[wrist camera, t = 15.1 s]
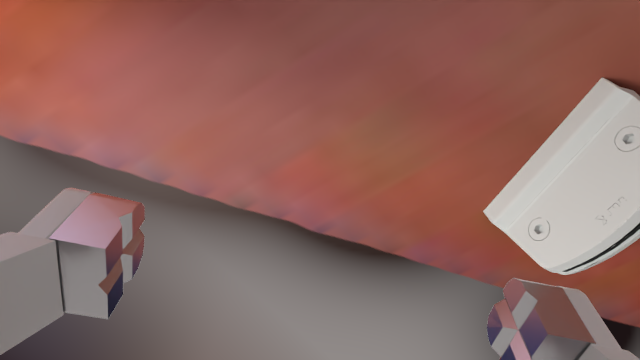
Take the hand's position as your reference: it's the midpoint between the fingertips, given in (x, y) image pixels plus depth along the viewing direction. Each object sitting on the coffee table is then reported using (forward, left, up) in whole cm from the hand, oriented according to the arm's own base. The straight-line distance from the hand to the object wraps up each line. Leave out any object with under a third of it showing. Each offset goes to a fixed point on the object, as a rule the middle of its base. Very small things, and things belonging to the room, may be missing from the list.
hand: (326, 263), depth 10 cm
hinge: (+25, -9, -31) cm, 40 cm away
